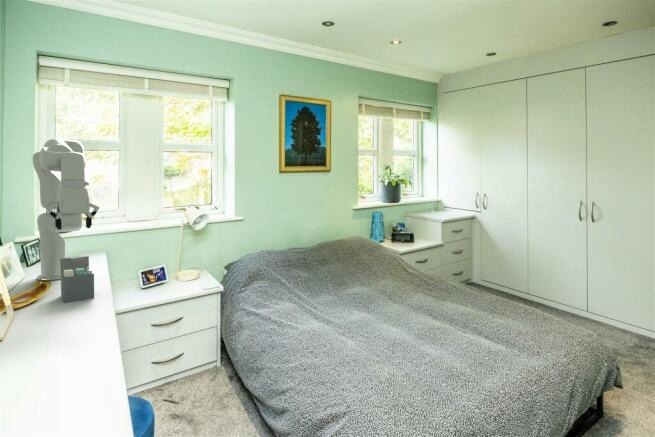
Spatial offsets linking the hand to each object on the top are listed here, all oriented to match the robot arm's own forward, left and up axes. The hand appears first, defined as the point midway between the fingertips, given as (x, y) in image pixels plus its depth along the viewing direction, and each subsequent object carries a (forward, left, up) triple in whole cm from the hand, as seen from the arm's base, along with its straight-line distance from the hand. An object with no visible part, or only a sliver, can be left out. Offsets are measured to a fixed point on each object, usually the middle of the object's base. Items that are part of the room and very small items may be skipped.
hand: (74, 228), depth 144 cm
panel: (-1, +1, -29) cm, 29 cm away
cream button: (0, -2, -20) cm, 20 cm away
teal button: (0, +2, -20) cm, 20 cm away
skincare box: (-10, +3, -29) cm, 30 cm away
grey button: (+1, +5, -19) cm, 19 cm away
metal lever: (-2, +5, -19) cm, 19 cm away
